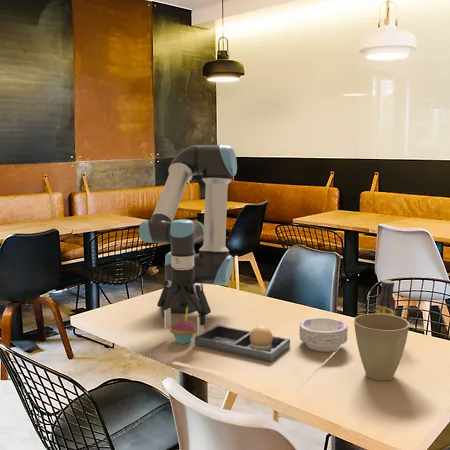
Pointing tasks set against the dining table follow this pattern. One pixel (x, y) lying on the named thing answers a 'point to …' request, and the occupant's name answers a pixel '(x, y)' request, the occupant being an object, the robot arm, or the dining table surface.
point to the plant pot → (380, 343)
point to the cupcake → (183, 330)
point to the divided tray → (239, 343)
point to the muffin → (261, 338)
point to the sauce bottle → (386, 299)
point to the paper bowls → (323, 333)
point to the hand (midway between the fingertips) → (183, 331)
